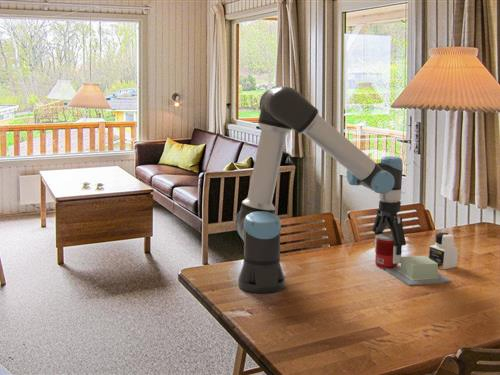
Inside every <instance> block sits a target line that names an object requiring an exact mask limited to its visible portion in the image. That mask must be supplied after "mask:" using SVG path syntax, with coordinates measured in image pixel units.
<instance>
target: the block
mask: <svg viewBox="0 0 500 375" xmlns="http://www.w3.org/2000/svg"><path fill="white" fill-rule="evenodd" d="M399 268H400V271H401V272H403V273H404V274H406V275H407V276H408V277H410V278H411V279H425V278H437V272H438V269H439V268H438V263H436V262H434V261H433V260H431V259H429V256H427V255H415V256H413V255H411V256H401V263H400V267H399Z"/></svg>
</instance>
